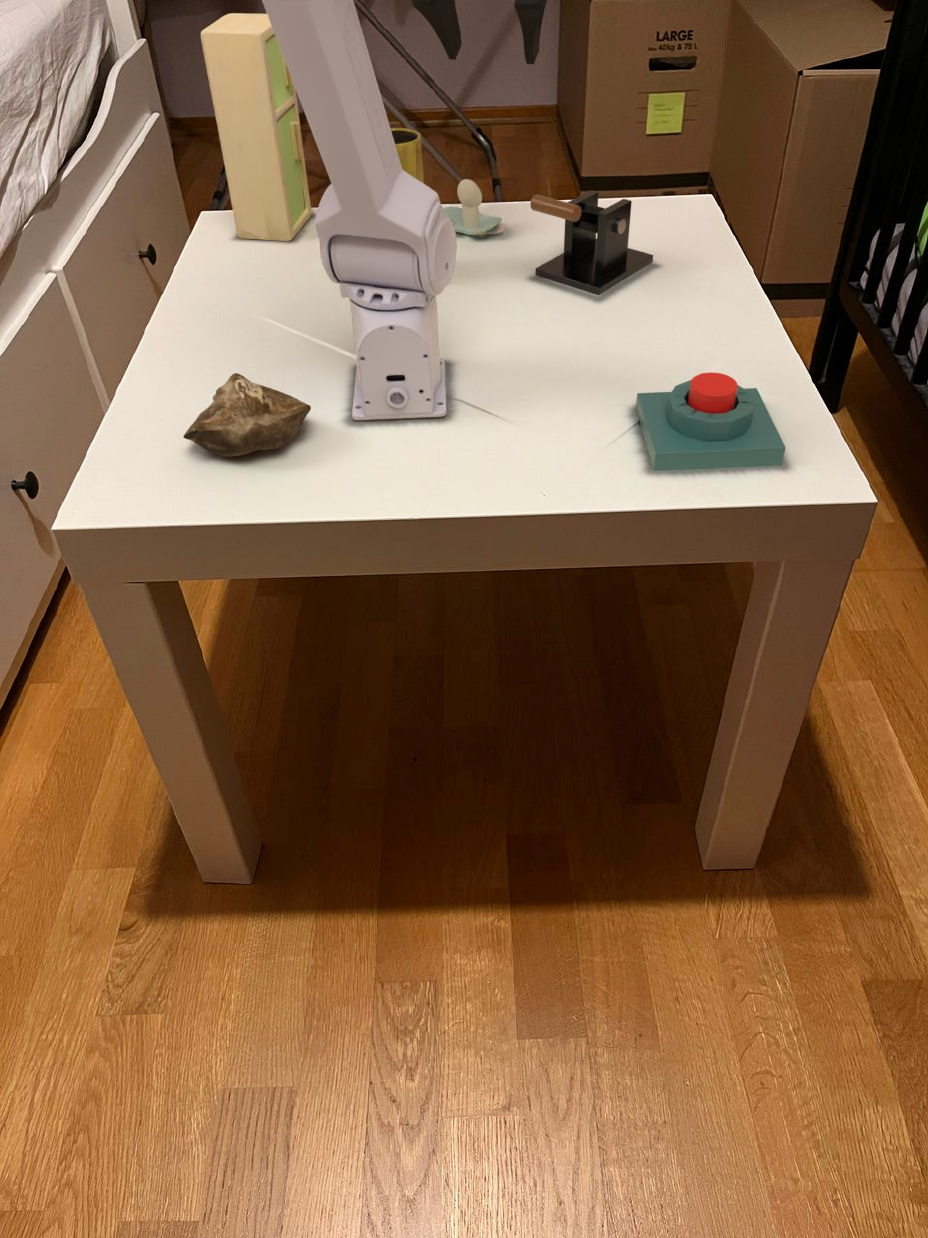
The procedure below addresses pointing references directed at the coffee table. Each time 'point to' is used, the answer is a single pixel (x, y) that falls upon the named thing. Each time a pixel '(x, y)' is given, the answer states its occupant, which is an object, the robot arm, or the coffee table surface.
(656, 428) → the button block
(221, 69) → the toy refrigerator
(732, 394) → the button
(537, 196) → the lever
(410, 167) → the vase
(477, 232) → the pacifier
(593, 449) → the coffee table surface
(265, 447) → the fossilized seashell
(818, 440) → the coffee table surface
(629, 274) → the bracket
